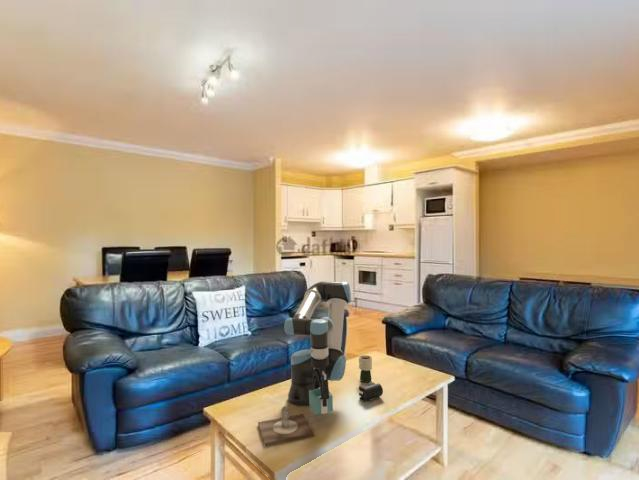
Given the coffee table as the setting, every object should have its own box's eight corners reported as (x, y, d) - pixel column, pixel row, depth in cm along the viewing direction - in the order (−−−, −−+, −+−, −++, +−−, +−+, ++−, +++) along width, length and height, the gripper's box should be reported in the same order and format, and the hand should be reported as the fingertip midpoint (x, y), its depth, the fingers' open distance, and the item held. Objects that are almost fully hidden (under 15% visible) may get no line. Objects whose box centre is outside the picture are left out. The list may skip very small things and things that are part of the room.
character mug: (366, 375, 202) (365, 353, 202) (376, 379, 198) (376, 356, 197) (354, 382, 194) (354, 358, 194) (365, 385, 190) (364, 361, 189)
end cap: (367, 404, 169) (367, 390, 169) (358, 398, 175) (358, 385, 175) (383, 398, 175) (383, 385, 174) (373, 393, 181) (373, 380, 180)
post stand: (258, 425, 152) (257, 402, 152) (303, 417, 159) (302, 394, 158) (264, 446, 137) (264, 421, 137) (314, 436, 144) (313, 411, 143)
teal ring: (309, 405, 157) (309, 390, 156) (326, 402, 159) (326, 387, 159) (314, 414, 149) (314, 398, 149) (332, 411, 152) (332, 395, 151)
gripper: (304, 349, 162) (305, 398, 163) (319, 366, 142) (320, 422, 143) (320, 347, 164) (321, 395, 165) (336, 363, 145) (337, 418, 146)
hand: (320, 407), depth 154 cm, fingers closed on teal ring, 8 cm apart
